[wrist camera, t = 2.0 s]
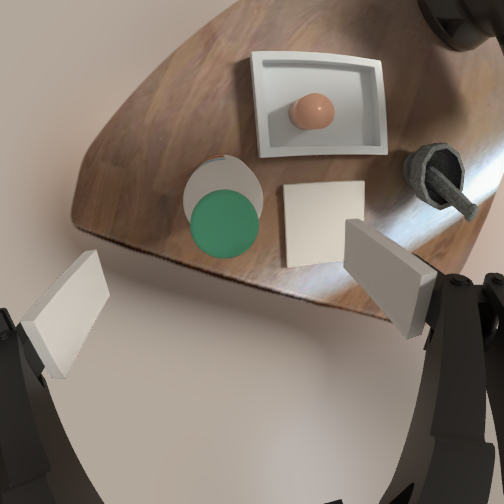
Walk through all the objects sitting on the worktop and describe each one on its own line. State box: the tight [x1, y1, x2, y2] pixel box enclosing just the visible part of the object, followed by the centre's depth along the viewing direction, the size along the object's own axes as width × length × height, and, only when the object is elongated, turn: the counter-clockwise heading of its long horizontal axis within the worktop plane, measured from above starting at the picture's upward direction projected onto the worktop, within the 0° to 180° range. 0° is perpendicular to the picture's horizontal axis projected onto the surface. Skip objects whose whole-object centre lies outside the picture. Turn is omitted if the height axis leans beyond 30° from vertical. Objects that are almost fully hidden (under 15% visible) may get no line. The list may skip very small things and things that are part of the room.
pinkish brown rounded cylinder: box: [288, 93, 335, 130], centre depth 31 cm, size 4×4×5 cm
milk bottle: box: [183, 155, 263, 258], centre depth 28 cm, size 8×8×20 cm
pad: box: [283, 180, 365, 268], centre depth 40 cm, size 12×12×1 cm
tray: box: [250, 51, 388, 158], centre depth 33 cm, size 18×14×2 cm
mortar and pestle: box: [403, 143, 479, 222], centre depth 33 cm, size 11×9×12 cm
